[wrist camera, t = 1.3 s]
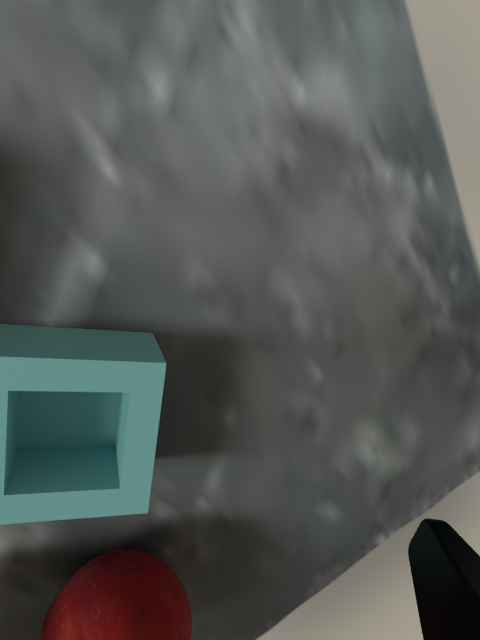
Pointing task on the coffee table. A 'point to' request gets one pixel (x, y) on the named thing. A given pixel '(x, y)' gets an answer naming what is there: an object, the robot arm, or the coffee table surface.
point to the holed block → (77, 422)
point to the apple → (120, 601)
